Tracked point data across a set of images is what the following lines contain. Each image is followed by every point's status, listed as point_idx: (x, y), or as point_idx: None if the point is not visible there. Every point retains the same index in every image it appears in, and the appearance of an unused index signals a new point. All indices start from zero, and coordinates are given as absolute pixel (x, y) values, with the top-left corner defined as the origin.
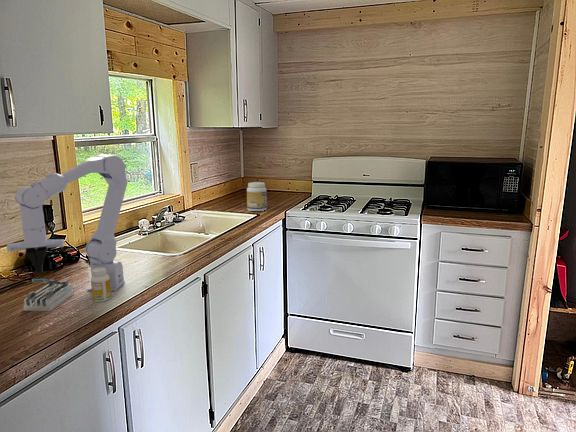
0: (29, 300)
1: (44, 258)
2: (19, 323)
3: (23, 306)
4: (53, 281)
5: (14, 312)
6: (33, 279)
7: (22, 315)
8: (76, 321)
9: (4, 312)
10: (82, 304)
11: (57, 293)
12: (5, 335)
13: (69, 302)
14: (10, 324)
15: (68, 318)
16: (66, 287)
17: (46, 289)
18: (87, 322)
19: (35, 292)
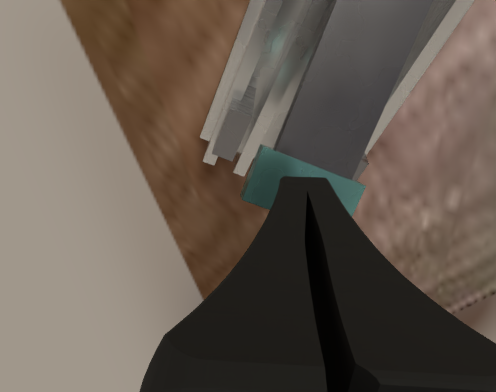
0: (234, 170)
1: (383, 256)
2: (224, 240)
3: (201, 135)
4: (386, 96)
5: (164, 129)
6: (252, 202)
7: (213, 175)
8: (425, 287)
9: (113, 112)
10: (489, 146)
11: (386, 122)
12: (205, 298)
13: (431, 93)
14: (192, 237)
15: (401, 259)
16: (462, 13)
17: (313, 22)
18: (459, 304)
19: (244, 64)
